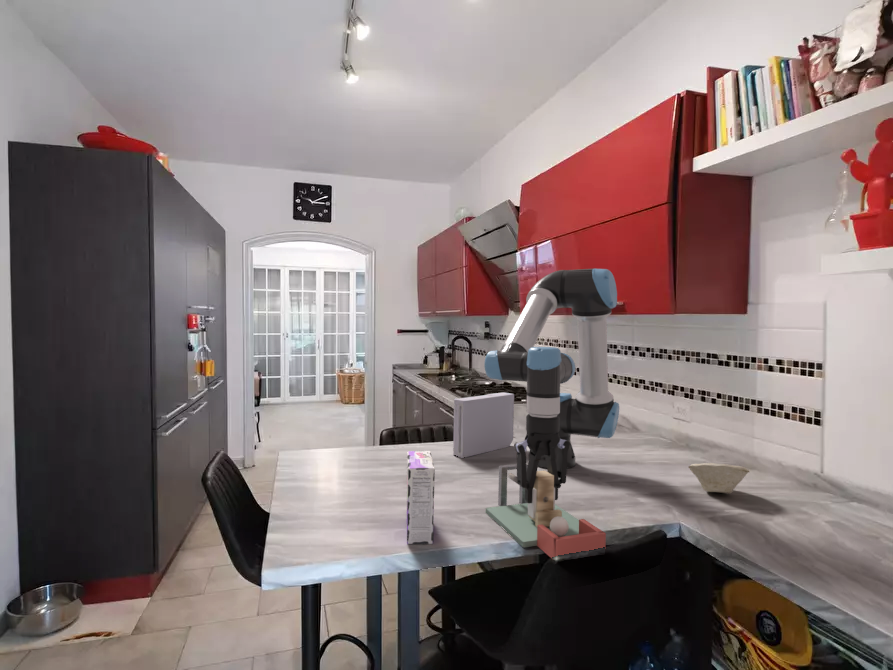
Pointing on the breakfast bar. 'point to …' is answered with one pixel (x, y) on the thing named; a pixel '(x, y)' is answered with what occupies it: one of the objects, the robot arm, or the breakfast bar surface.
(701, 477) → the bowl
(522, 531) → the pitch board
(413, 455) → the candy box
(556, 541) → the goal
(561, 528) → the ball
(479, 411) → the game console
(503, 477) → the metal rectangular frame
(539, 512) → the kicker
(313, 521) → the breakfast bar surface
